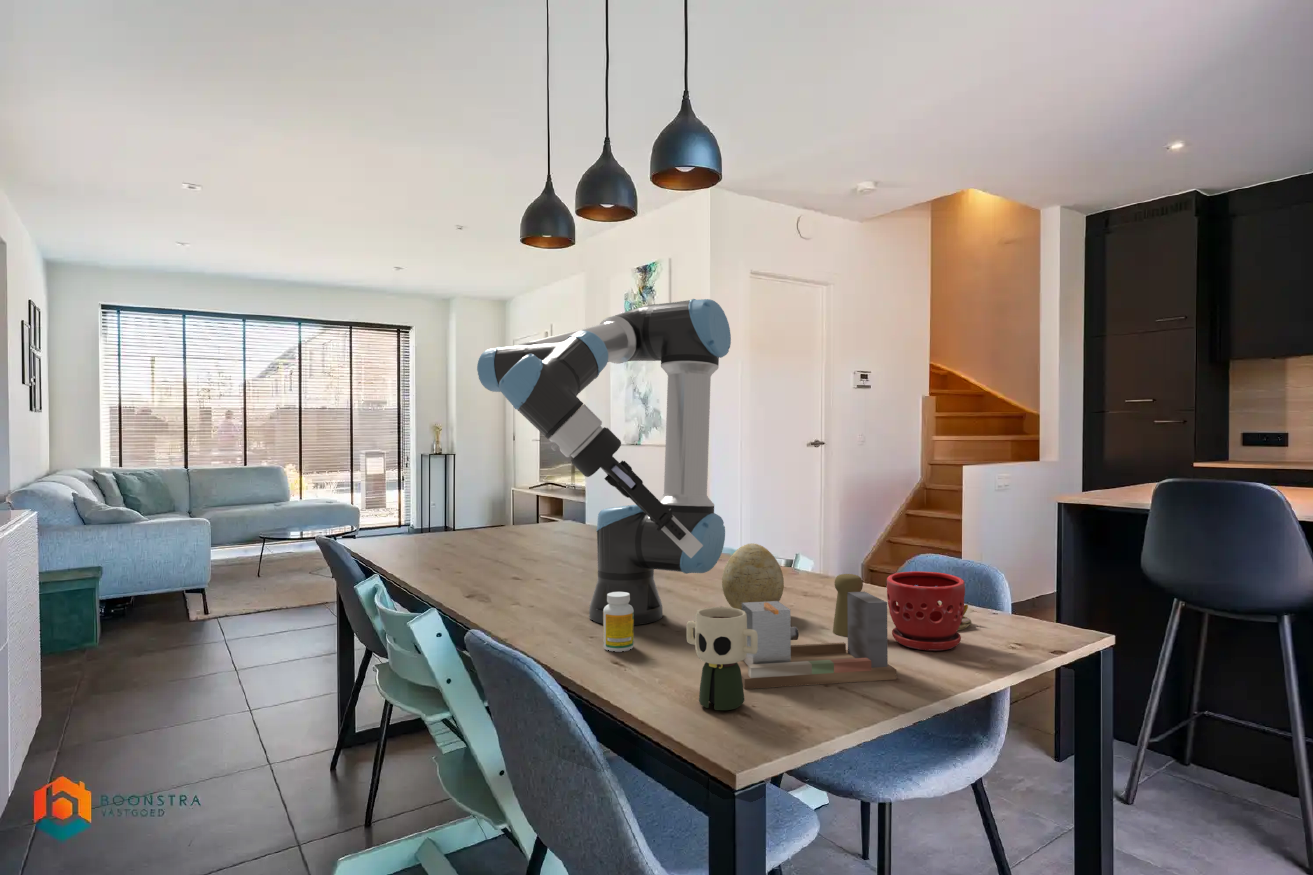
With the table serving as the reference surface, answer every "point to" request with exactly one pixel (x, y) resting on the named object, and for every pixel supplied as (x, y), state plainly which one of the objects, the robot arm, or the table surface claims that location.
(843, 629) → the olive knobbed pawn
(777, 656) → the grey cube with stick
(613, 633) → the supplement bottle
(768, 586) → the fossilized egg
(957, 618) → the plant pot
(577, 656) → the table surface
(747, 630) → the character mug
